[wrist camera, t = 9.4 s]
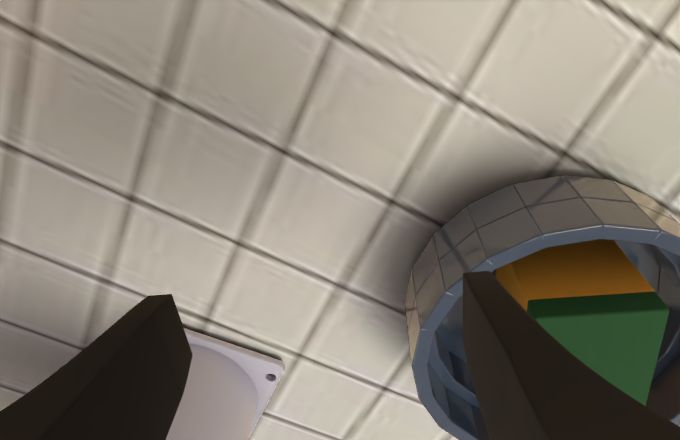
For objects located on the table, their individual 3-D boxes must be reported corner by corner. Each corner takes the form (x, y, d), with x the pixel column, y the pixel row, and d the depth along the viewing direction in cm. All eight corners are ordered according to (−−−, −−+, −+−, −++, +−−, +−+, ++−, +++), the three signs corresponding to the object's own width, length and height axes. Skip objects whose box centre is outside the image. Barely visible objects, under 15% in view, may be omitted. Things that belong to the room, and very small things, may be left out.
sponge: (580, 357, 25) (633, 459, 20) (492, 362, 25) (522, 464, 20) (601, 223, 21) (671, 309, 16) (496, 231, 21) (535, 318, 17)
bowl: (569, 411, 27) (604, 491, 23) (362, 338, 25) (363, 413, 21) (743, 235, 22) (826, 302, 18) (494, 122, 20) (526, 170, 16)
